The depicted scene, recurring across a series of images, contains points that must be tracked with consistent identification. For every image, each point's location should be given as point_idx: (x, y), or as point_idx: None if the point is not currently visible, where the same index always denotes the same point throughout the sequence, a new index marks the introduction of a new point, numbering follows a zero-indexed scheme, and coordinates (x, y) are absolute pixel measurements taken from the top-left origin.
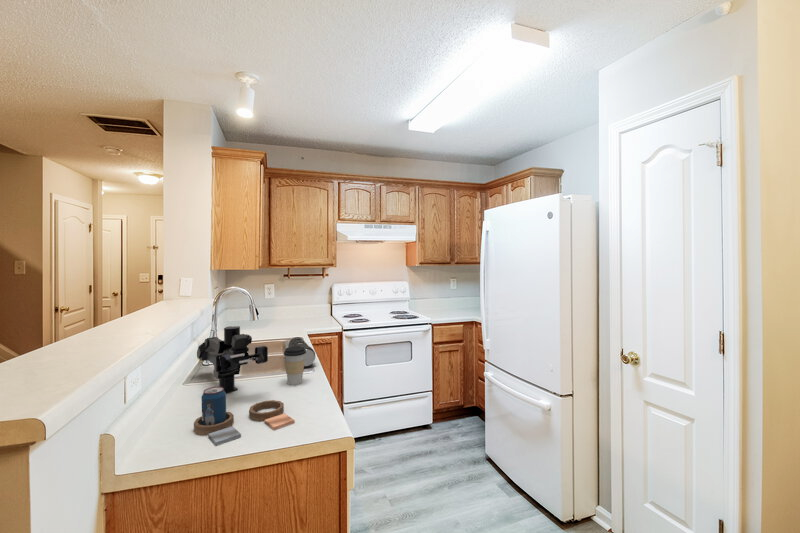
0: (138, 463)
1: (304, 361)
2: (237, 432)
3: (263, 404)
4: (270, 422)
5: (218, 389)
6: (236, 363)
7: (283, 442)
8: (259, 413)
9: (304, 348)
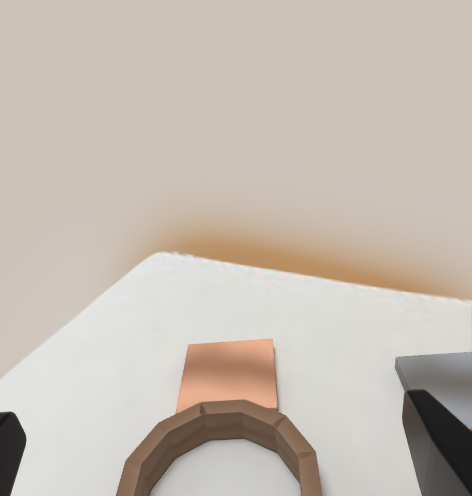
0: None
1: None
2: (408, 371)
3: None
4: (266, 372)
5: None
6: (434, 415)
7: (282, 286)
8: (286, 423)
9: None
